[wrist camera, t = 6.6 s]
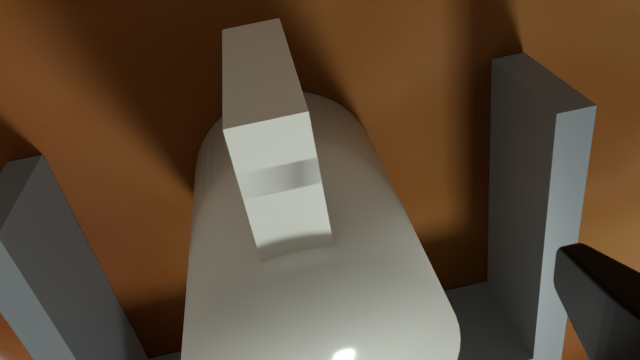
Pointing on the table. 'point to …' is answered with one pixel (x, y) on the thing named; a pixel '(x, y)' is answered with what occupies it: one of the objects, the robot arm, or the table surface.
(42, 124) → the table surface
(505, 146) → the frame
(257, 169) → the jug
